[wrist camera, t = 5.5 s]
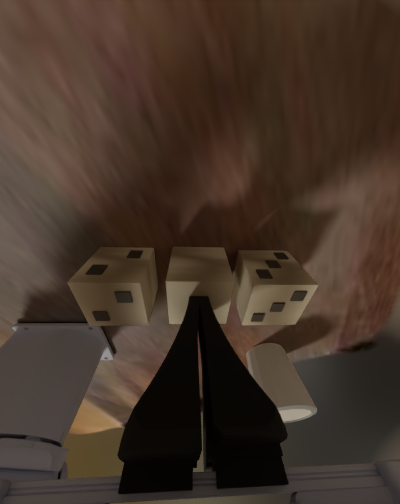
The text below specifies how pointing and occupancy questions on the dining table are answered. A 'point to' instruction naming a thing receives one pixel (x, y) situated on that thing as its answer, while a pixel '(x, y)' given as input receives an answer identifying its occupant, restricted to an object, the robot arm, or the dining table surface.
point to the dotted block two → (117, 286)
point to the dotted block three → (270, 287)
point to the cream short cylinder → (280, 381)
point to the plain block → (198, 280)
